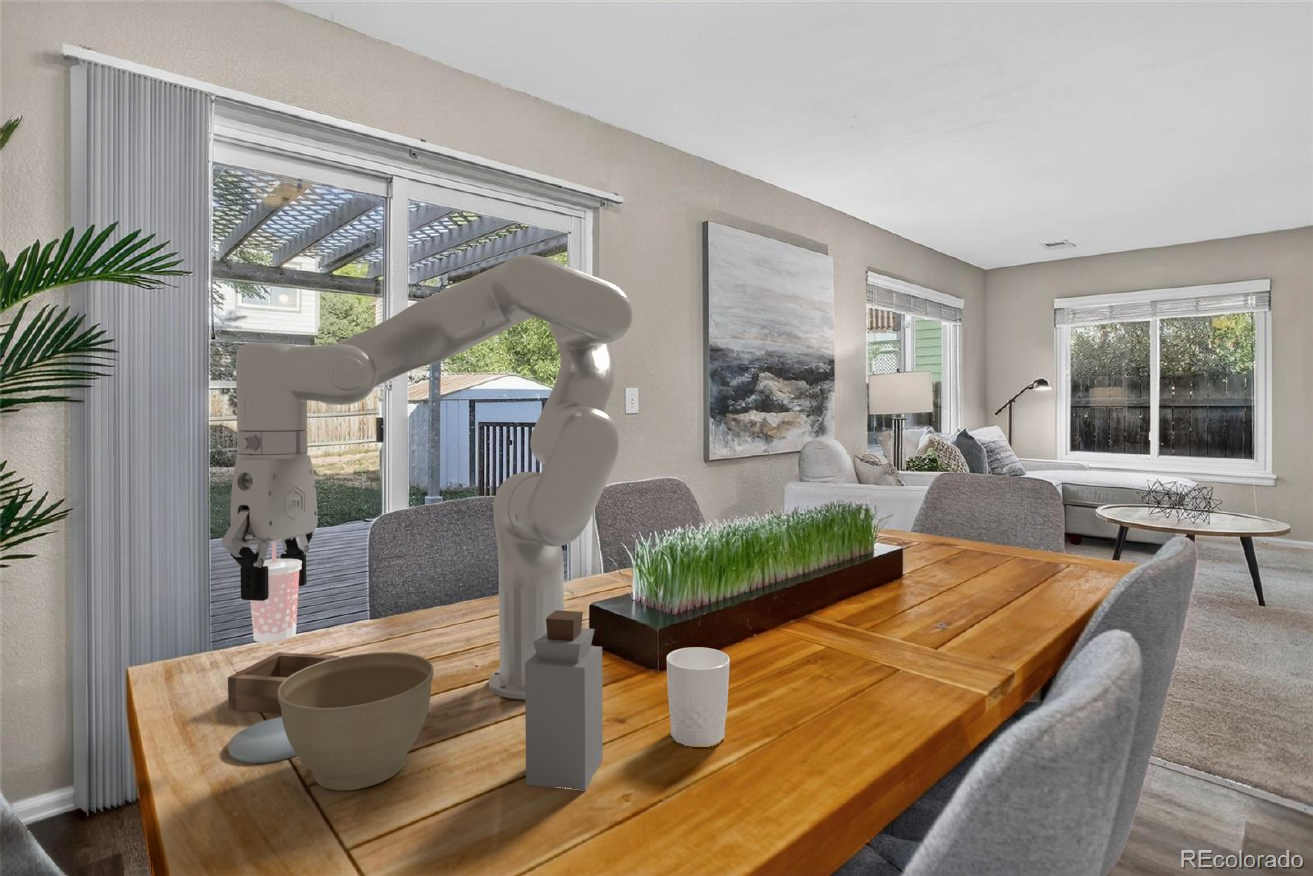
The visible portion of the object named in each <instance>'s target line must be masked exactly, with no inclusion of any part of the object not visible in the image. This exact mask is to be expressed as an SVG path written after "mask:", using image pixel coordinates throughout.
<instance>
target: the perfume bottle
mask: <svg viewBox="0 0 1313 876" xmlns="http://www.w3.org/2000/svg"><path fill="white" fill-rule="evenodd" d="M583 612H584V611H577V610H576V611H573V610H572V611H571V610H564V611H560V610H555V611H554V612H553V613H552V614H551V615H549V616H548V617H547V618H546V626H547V629H546V630H545V631H544V632H543V633H542V634H541V635H540V636H538V637H537V638H536V639H535V640H534V641H533V643H534V646H535V650H536V654H534V655H533V656H532V657H531V658H530V659H529V660H528V661H527V662H526V663H525V699H524V700H525V706H524V708H525V785H526V786H532V785H534V787H541V786H542V788H543V786H544V788H550V787H561V788H562V787H563V788H565V787H566V788H572V789H577V790H578V789H579V790H583V791H582V792H586V791H587V789H588V788H587V787H589V786H590V784H591V782H592V780H593V779H592V777H593V775H594V774H595V775H596V773H597V772H596V770H597V768H598V766H599V765H600V766H601V764H602V763H601V761H602V760H603V755H604V753H603V748H604V747H603V740H604V739H603V646H596V645H595V646H594V645H592V642H593V637H594V634H595V630H596V629H595V628H585V627H584V628H583V614H584V613H583ZM602 762H603V761H602ZM600 763H601V764H600ZM600 766H599V767H600ZM598 769H599V768H598ZM597 771H598V770H597ZM595 772H596V773H595ZM595 775H594V776H595ZM593 778H594V777H593ZM591 779H592V780H591ZM590 781H591V782H590ZM589 783H590V784H589ZM535 785H536V786H535ZM588 785H589V786H588ZM586 788H587V789H586ZM585 790H586V791H585Z"/></svg>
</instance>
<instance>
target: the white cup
mask: <svg viewBox="0 0 1313 876" xmlns="http://www.w3.org/2000/svg"><path fill="white" fill-rule="evenodd" d="M666 676H667V677H666V679H667V681H666V682H667V695H668V696H667V698H668V711H669V712H668V713H669V716H670V717H669V718H670V719H669V720H670V737H671V736H672V737H673V738H674V739H673V738H672V737H671V738H672V739H673V741H674V740H675V741H676V742H675V741H674V742H675V743H677V742H679V743H681V744H683V745H686V746H710V745H713V744H715V743H718V742H720V741H721V740H722V739H723V738H724V739H725V731H726V730H725V729H726V726H725V725H726V718H727V715H728V714H727V713H728V703H729V702H728V699H729V681H730V679H729V678H730V657H729V655H728V654H727V653H725V652H723V651H722V650H718V649H715V648H709V647H704V646H703V647H701V646H700V647H696V646H695V647H692V646H691V647H682V648H679V649H674V650H672V651H671V652H669V653H668V654H667V655H666ZM679 743H678V744H679ZM681 744H680V745H681ZM683 745H682V746H683ZM686 746H685V747H686Z"/></svg>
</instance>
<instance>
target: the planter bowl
mask: <svg viewBox="0 0 1313 876" xmlns="http://www.w3.org/2000/svg"><path fill="white" fill-rule="evenodd" d="M433 678H434V665H433V664H432V662H431V661H430V660H428V659H427V658H425V657H423V656H420V655H418V654H417V655H416V654H414V653H407V652H397V651H382V652H379V651H378V652H368V653H359V654H352V655H351V654H350V655H345V656H339V658H335V659H331V660H327V661H324V662H320V663H317V664H315V665H312V666H309V667H307V668H304V669H302V670H300V671H298V672H296V673H294V674H292V675H291V676H290V677H288V678H287V679H286V680H284V681H283V682H282V683H281V685H280V686H279V688H278V700H279V704H280V706H281V717H282V721H283V725H284V729H285V732H286V735H287V738H288V740H289V742H290V744H291V746H292V748H293V749H294V751H295V753H296V754H297V755H298V756H297V757H298V758H299V759H300V761H301V762H302V763H303V764H304V765H305V766H306V767H307V768H308V770H309V769H310V771H312V772H313V775H314V778H315V782H317V784H318V785H320V786H321V787H323V788H324V789H327V790H332V791H353V790H361V789H364V788H365V789H366V788H369V787H371V786H375V785H377V784H378V785H379V784H380V783H382V782H385V781H387V780H388V779H390V778H392V777H394V776H395V775H396V774H398V773H399V772H400V771H401V770H402V769H403V768H404V766H405V764H406V761H407V754H408V753H409V751H410V750H411V749H412V747H413V745H414V743H415V742H416V741H417V739H418V737H419V735H420V733H421V731H422V729H423V726H424V724H425V721H426V718H427V715H428V712H429V707H430V705H431V704H430V703H431V695H432V682H433Z"/></svg>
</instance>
